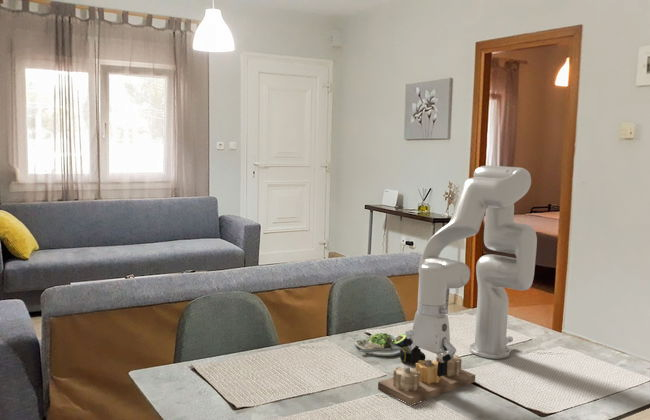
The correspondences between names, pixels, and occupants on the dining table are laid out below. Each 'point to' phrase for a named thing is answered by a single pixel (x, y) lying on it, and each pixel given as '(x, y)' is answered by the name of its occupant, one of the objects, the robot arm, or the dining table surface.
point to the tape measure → (409, 355)
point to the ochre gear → (428, 372)
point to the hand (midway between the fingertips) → (428, 369)
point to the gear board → (414, 391)
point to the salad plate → (382, 344)
